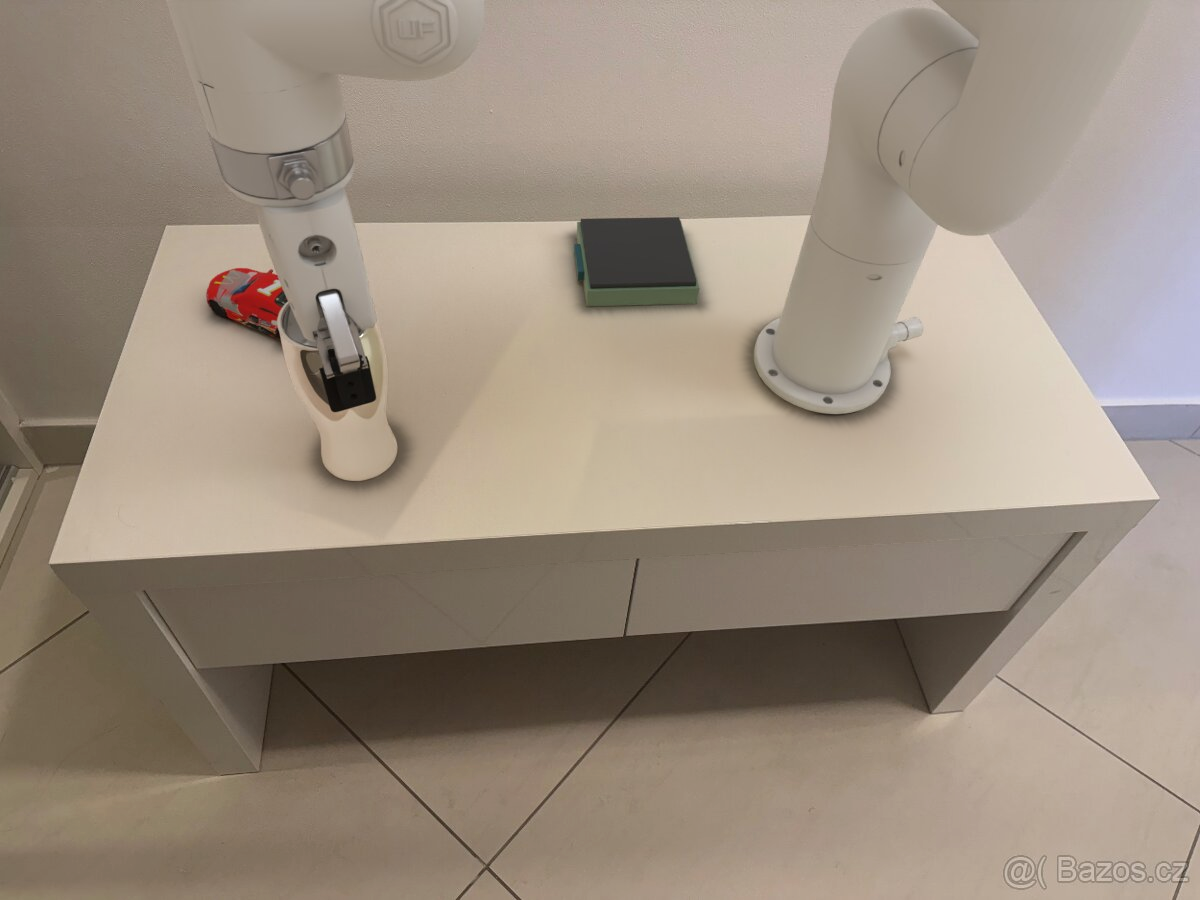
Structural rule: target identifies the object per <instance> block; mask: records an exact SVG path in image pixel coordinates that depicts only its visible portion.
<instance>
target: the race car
mask: <svg viewBox="0 0 1200 900" xmlns="http://www.w3.org/2000/svg"><path fill="white" fill-rule="evenodd" d="M273 272H274V269H272V268H271V269H269V270H268V271H266V272H261V271H258V270H255V269H253V268H248V267H246V268H245V267H236V268H232V269H231V268H230V269H228V270H225V271H223V272H220V273H218V274H217V275H215V276H214V277H213V278H212V279H211V280H210V282H209V283H208V286H207V289H206V293H205V296H206V297H205V298H206V303H207V305H208V307H209V308H211V310H212V311H213V312H214V314H216V315H218V316H219V317H221V318H226V317H227V318H229V319H231V320H233V321H236V322H238V323H240V324H242V325H244V326H247V327H249V328H251V329H254V330H256V331H259V332H260V333H263V334H266V335H268V336H270V337H272V338H275V339H277V338H278V340H280V341H281V338H280V333H279V330H278V326H277V319H278V315H279V312H280V310H281V309H282V307H283V306H284V305H285V304H286V303H287V302H288V300H287V298H286V295H285V293H284V291H283V289H282V286H281V284H280V281H279V279H278V276H277V273H273Z"/></svg>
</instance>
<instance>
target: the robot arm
mask: <svg viewBox="0 0 1200 900" xmlns="http://www.w3.org/2000/svg"><path fill="white" fill-rule="evenodd" d="M931 1H932V2H933V3H935V4H936V5H937V6H938V8H940V9H941V10H942V11H944V12H945V13H944V12H942V11H939V10H937V9H933V8H929V7H928V8H927V7H919V6H918V7H907V8H901V9H900V8H899V9H897V10H894V11H892V12H888V13H887V14H885V15H883V16H881V17H879V18H878V19H876V20H874V21H873V22H872V23H871V24H870V25H868V27H866V28H865V29H864V30H863V31H862V32H861V33H860V35H859V36H858V37H857V38H856V39H855V40H854V42H853V43H852V45H851V46H850V48H849V50H848V51H847V53H846V55H845V57H844V58H843V61H842V63H841V65H840V68H839V71H838V74H837V78H836V81H835V84H834V91H833V96H832V102H831V109H830V121H829V132H828V141H827V151H826V155H825V162H824V166H823V170H822V175H821V179H820V182H819V186H818V190H817V194H816V197H815V200H814V204H813V206H812V211H811V214H810V217H809V220H808V224H807V227H806V230H805V234H804V237H803V240H802V245H801V247H800V251H799V255H798V258H797V261H796V265H795V267H794V271H793V275H792V278H791V281H790V285H789V288H788V291H787V295H786V298H785V301H784V306H783V309H782V312H781V315H780V317H777V318H775V319H773V320H772V321H770V322H768V323H767V324H766V326H764V328H762V330H761V331H760V332H759V334H758V336H757V338H756V341H755V345H754V348H753V361H754V367H755V370H756V371H757V373H758V376H759V378H761V380H762V381H763V383H764V384H765V385H766V386H767V387H768V388H769V389H770V390H771V391H772V392H773V393H774V394H776V395H777V396H778V397H780V398H781V399H782V400H784V401H786V402H788V403H790V404H792V405H794V406H795V407H798V408H801V409H803V410H807V411H811V412H815V413H820V414H828V415H843V414H850V413H854V412H859V411H862V410H864V409H866V408H868V407H870V406H872V405H873V404H874V403H876V402H877V401H878V400H879V399H880V398H881V397H882V395H883V394H884V393H885V390H886V389H887V387H888V385H889V382H890V378H891V373H892V371H891V370H892V369H891V362H890V360H889V356H888V353H889V351H890V350H891V349H894V348H896V347H897V345H898V343H900V342H907V341H911V340H913V339H916V338H919V337H921V336H922V335H923V333H924V325H923V322H922V320H921V319H920V318H919V317H916V316H914V317H910V318H907V319H903V320H900V321H897V320H898V318H899V315H900V313H901V311H902V308H903V307H904V303H905V302H906V299H907V297H908V294H909V292H910V289H911V288H912V285H913V283H914V281H915V278H916V276H917V274H918V272H919V269H920V267H921V264H922V263H923V260H924V258H925V256H926V253H927V251H928V249H929V247H930V244H931V243H932V240H933V237H934V235H935V232H936V230H937V227H938V226H939V227H941V228H943V229H945V230H946V231H949V232H951V233H952V234H957V235H959V236H964V237H979V236H980V237H981V236H985V235H990V234H993V233H996V232H999V231H1001V230H1003V229H1005V228H1007V227H1008V226H1011V225H1012V224H1013V223H1015V222H1016V221H1018V220H1019V219H1021V218H1023V217H1024V216H1025V215H1026V214H1027V213H1028V212H1029V211H1030V210H1032V209H1033V208H1034V207H1035V206H1036V205H1037V204H1038V203H1039V201H1040V200H1041V199H1042V198H1043V197H1044V196H1045V195H1046V193H1047V192H1048V191H1049V190H1050V189H1051V187H1052V185H1053V184H1054V183H1055V181H1056V180H1057V178H1058V177H1059V175H1060V174H1061V172H1062V171H1063V169H1064V167H1065V166H1066V164H1067V163H1068V161H1069V159H1070V158H1071V156H1072V154H1073V152H1074V150H1075V149H1076V147H1077V145H1078V143H1079V142H1080V140H1081V138H1082V136H1083V135H1084V133H1085V130H1086V129H1087V127H1088V125H1089V124H1090V121H1091V120H1092V118H1093V117H1094V114H1095V113H1096V111H1097V109H1098V108H1099V106H1100V103H1101V102H1102V100H1103V98H1104V96H1105V94H1106V93H1107V91H1108V89H1109V87H1110V85H1111V84H1112V82H1113V80H1114V78H1115V77H1116V74H1117V72H1118V71H1119V69H1120V67H1121V66H1122V63H1123V62H1124V60H1125V58H1126V56H1127V54H1128V53H1129V52H1130V49H1131V47H1132V45H1133V43H1134V42H1135V40H1136V38H1137V36H1138V35H1139V32H1140V31H1141V29H1142V26H1143V24H1144V22H1145V20H1146V19H1147V16H1148V15H1149V13H1150V11H1151V8H1152V6H1153V4H1154V1H1155V0H931ZM165 4H166V7H167V9H168V12H169V15H170V19H171V22H172V25H173V29H174V31H175V34H176V37H177V40H178V43H179V47H180V50H181V53H182V56H183V59H184V63H185V66H186V69H187V72H188V74H189V77H190V81H191V84H192V87H193V90H194V93H195V97H196V100H197V103H198V106H199V110H200V113H201V115H202V119H203V122H204V126H205V128H206V131H207V134H208V135H207V136H208V138H209V141H210V145H211V147H212V151H213V154H214V156H215V160H216V163H217V166H218V170H219V172H220V176H221V179H222V182H223V185H224V187H225V188H226V189H227V190H228V192H229V193H230V194H232V195H233V196H234V197H235V198H237V199H239V200H241V201H243V202H246V203H249V204H251V205H253V209H254V213H255V216H256V218H257V221H258V225H259V228H260V231H261V234H262V238H263V241H264V243H265V247H266V249H267V253H268V255H269V258H270V261H271V263H272V266H273V269H274V271H275V274H276V275H277V276H278V279H279V281H280V284H281V286H282V289H283V291H284V293H285V295H286V298H287V300H288V302H289V305H290V307H291V309H292V312H293V314H294V316H295V318H296V321H297V323H298V325H299V327H300V329H301V332H302V334H303V336H304V338H305V339H307V340H309V341H311V342H316V345H317V349H318V352H319V355H320V358H321V362H322V365H323V367H322V368H319V370H320V373H321V377H322V381H323V384H324V388H325V392H326V395H327V399H328V403H329V406H330V409H331V411H332V412H339V411H343V410H347V409H350V408H354V407H357V406H361V405H364V404H368V403H371V402H374V401H375V400H376V393H375V389H374V384H373V379H372V374H371V369H370V365H369V360H368V358H367V356H365V353H364V350H363V346H362V343H361V339H360V336H359V333H358V329H357V325H358V326H359V328H360V329H362V330H365V329H368V328H373V327H374V326H375V324H376V322H377V323H378V317H377V311H376V308H375V304H374V299H373V296H372V291H371V287H370V282H369V279H368V273H367V269H366V265H365V261H364V256H363V252H362V248H361V244H360V240H359V235H358V232H357V228H356V224H355V220H354V216H353V213H352V209H351V205H350V202H349V199H348V198H349V197H348V195H347V192H346V190H345V187H346V186H347V185H348V184H349V183H350V181H351V180H352V179H353V177H354V174H355V170H356V163H355V162H356V161H355V157H354V151H353V145H352V141H351V135H350V129H349V124H348V119H347V118H348V117H347V114H346V108H345V102H344V97H343V92H342V86H341V81H340V76H341V75H342V76H350V77H351V76H352V77H358V78H359V77H361V78H367V79H368V78H369V79H377V80H386V81H396V82H417V81H418V82H419V81H426V80H427V81H428V80H433V79H436V78H439V77H444V76H445V75H447V74H449V73H451V72H454V71H455V70H457V69H458V68H459V67H461V66H462V65H463V64H464V63H465V62H466V61H467V60H468V59H469V58H470V57H471V56H472V54H473V53H474V52H475V50H476V49H477V48H478V47H477V46H478V45H479V43H480V41H481V38H482V35H483V31H484V27H485V22H486V21H485V20H486V3H485V0H165ZM344 312H345V313H344ZM345 314H346V316H345ZM323 317H324V320H325V323H326V326H327V327H324V328H320V329H318V326H319V322H320V319H321V318H323ZM346 317H347V319H346ZM347 320H348V322H347ZM356 324H357V325H356ZM328 338H331V341H332V344H333V348H334V351H335V356H336V357H332V358H331V359H330V357H329V354H328V351H327V347H326V344H325V341H324V339H328Z"/></svg>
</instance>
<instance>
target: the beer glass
mask: <svg viewBox="0 0 1200 900" xmlns="http://www.w3.org/2000/svg"><path fill="white" fill-rule="evenodd" d="M344 313H345V312H344ZM345 316H346V314H345ZM346 319H347V317H346ZM347 322H348V320H347ZM356 325H357V324H356ZM277 326H278V330H279V333H280V338H281V340H280V342H281V348H282V353H283V357H284V361H285V365H286V369H287V372H288V375H289V377H290V380H291V383H292V386H293V388H294V390H295V392H296V394H297V396H298V398H299V399H300V401H301V403H302V405H303V406H304V408H305V410H306V412H307V414H308V415H309V416H310V418H311V419H312V421H313V422H314V423H313V424H315V426H316V428H317V431H318V433H319V436H320V456H321V460H322V463H323V465H324V467H325V469H326V470H327V471H328V472H329V474H331V475H332V476H334V477H336V478H338V479H340V480H343V481H348V482H349V481H350V482H361V481H367V480H371V479H373V478H376V477H378V476H380V475H381V474H383V473H385V472H386V471H387V470H388V469H389V468H390V467H391V466H392V465H393V463H395V460H396V457H397V456H398V455H397V454H398V443H397V439H396V436H395V435H394V432H393V431H392V428H391V427H390V424H389V422H388V418H387V402H388V401H387V399H388V384H389V383H388V361H387V354H386V349H385V344H384V340H383V337H382V333H381V330H380V325H379V323H378V321H377V322H376V324H375V326H374V327H373V328H368V329H365V330H362V329H360V328H359V326H358V325H357V329H358V333H359V336H360V339H361V343H362V346H363V350H364V353H365V356H367V358H368V360H369V365H370V369H371V374H372V379H373V384H374V389H375V393H376V400H375V401H374V402H371V403H368V404H364V405H361V406H357V407H354V408H350V409H347V410H343V411H339V412H332V411H331V409H330V406H329V403H328V399H327V395H326V392H325V388H324V384H323V381H322V377H321V373H320V370H319V368H322V367H323V365H322V362H321V358H320V355H319V352H318V349H317V345H316V342H311V341H309V340H307V339H305V338H304V336H303V334H302V332H301V329H300V327H299V325H298V323H297V321H296V318H295V316H294V314H293V312H292V309H291V307H290V305H289V302H287V303H286V304H285V305H284V306H283V307H282V309H281V310H280V312H279V315H278V319H277ZM324 327H327V326H326V323H325V320H324V317H323V318H321V319H320V322H319V326H318V329H320V328H324ZM324 341H325V344H326V347H327V351H328V354H329V357H330V359H331V358H332V357H336V356H335V351H334V348H333V344H332V341H331V338H328V339H324Z"/></svg>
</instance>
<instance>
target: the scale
mask: <svg viewBox="0 0 1200 900" xmlns="http://www.w3.org/2000/svg"><path fill="white" fill-rule="evenodd" d="M573 256H574V257H573V258H574V265H575V271H576V278H577V281H578V282H581V281H582V284H583V292H584V298H585V305H586V307H618V306H619V307H621V306H655V305H657V306H659V305H691V304H695V305H696V304H697V303H698V298H699V292H700V285H699V281H698V279H697V275H696V270H695V266H694V264H693V260H692V256H691V253H690V249H689V245H688V242H687V237H686V234H685V231H684V227H683V223H682V220H681V219H680V217H679V216H673V217H671V216H669V217H668V216H666V217H665V216H664V217H663V216H661V217H660V216H659V217H606V218H605V217H604V218H603V217H601V218H594V217H593V218H580V221H577V222H576V243H574V244H573Z"/></svg>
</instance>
